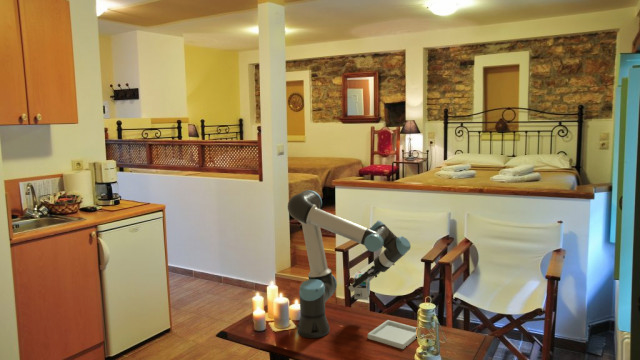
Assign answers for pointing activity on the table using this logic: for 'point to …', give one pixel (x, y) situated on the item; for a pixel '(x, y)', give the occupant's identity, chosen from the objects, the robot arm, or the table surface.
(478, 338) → the table surface
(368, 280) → the light bulb box
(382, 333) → the tray
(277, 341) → the table surface
